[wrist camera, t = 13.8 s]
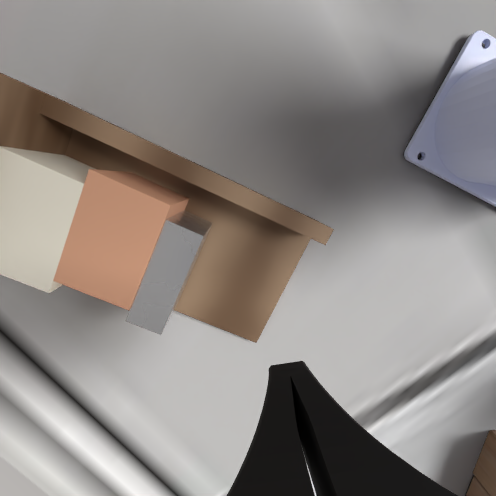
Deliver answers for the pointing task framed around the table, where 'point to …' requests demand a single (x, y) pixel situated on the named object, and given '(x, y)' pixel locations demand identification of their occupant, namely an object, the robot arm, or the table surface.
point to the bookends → (485, 469)
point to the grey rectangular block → (168, 270)
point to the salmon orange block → (115, 234)
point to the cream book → (36, 213)
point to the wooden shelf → (200, 204)
